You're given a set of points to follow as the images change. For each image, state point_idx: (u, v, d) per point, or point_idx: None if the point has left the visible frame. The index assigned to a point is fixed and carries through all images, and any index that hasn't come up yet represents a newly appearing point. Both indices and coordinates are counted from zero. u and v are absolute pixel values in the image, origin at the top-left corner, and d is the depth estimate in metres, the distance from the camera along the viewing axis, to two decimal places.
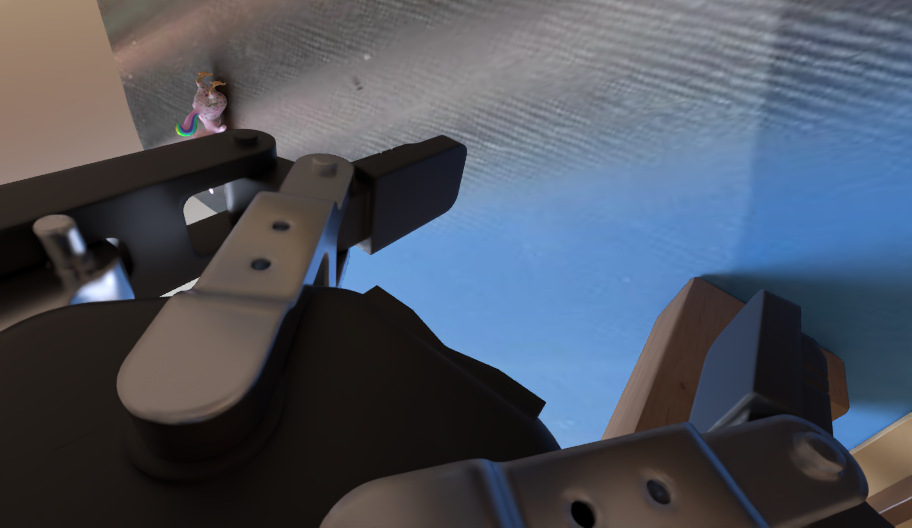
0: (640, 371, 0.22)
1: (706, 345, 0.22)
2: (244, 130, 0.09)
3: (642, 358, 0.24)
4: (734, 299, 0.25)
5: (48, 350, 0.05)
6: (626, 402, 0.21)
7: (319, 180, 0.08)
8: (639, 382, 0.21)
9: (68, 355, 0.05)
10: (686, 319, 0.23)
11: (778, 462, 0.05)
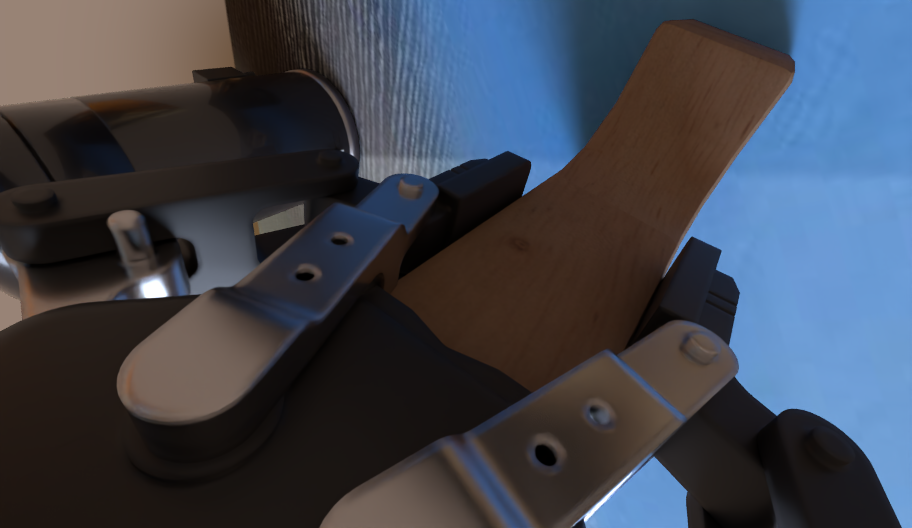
0: None
1: None
2: (332, 151, 0.09)
3: None
4: None
5: (53, 347, 0.05)
6: None
7: (399, 200, 0.08)
8: None
9: (65, 357, 0.05)
10: None
11: (665, 349, 0.07)
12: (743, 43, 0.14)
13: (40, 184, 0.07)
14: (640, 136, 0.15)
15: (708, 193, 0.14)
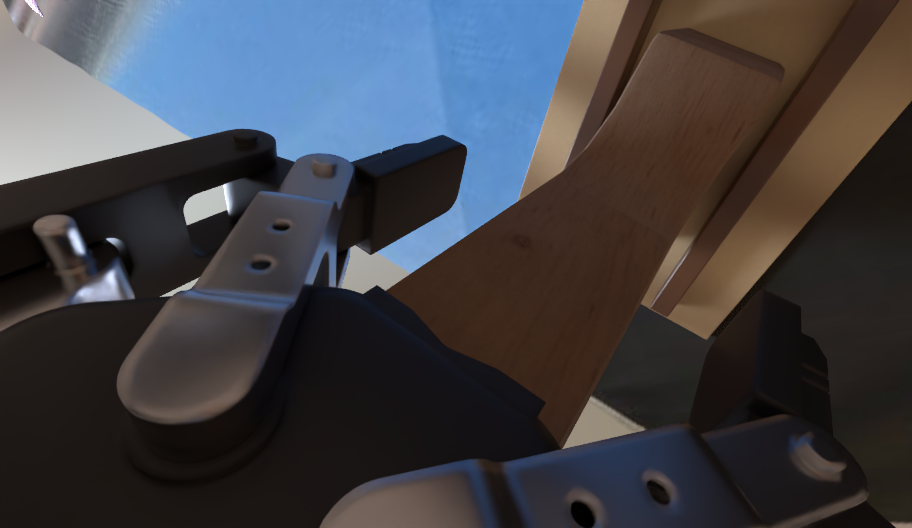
0: None
1: None
2: (244, 130, 0.09)
3: None
4: None
5: (48, 350, 0.05)
6: None
7: (319, 180, 0.08)
8: None
9: (68, 355, 0.05)
10: None
11: (778, 462, 0.05)
12: (735, 52, 0.15)
13: None
14: (636, 140, 0.15)
15: (701, 195, 0.15)
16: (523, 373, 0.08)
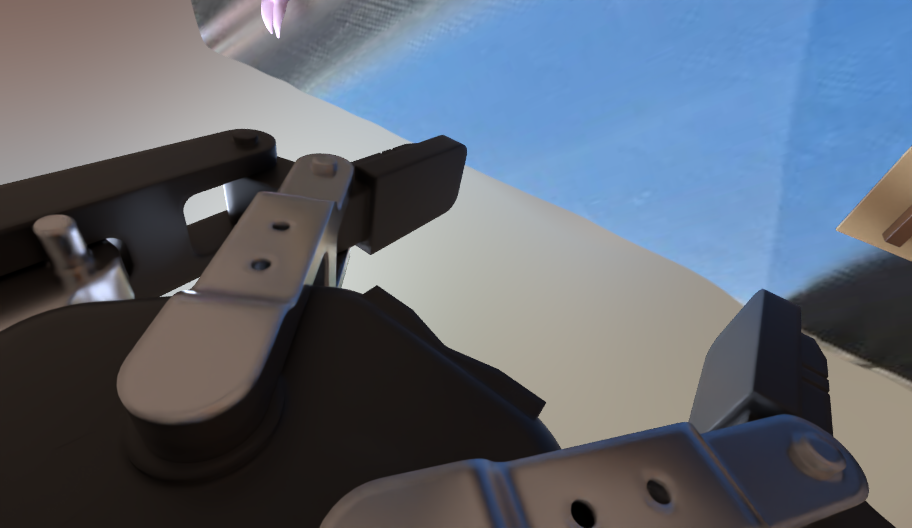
0: None
1: None
2: (244, 130, 0.09)
3: None
4: None
5: (48, 350, 0.05)
6: None
7: (319, 180, 0.08)
8: None
9: (68, 355, 0.05)
10: None
11: (778, 462, 0.05)
12: None
13: None
14: None
15: None
16: None
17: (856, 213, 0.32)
